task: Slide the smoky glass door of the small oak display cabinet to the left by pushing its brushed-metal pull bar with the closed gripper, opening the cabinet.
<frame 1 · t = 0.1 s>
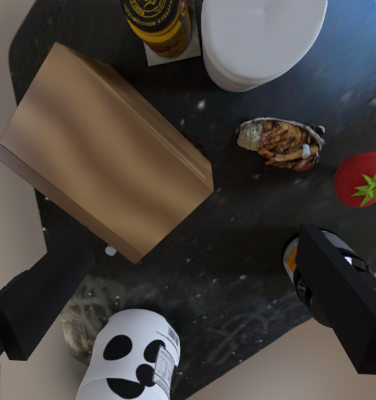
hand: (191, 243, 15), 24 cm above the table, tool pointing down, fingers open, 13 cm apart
supplement tub: (238, 52, 31), on the table
doce de leite tub: (143, 328, 52), on the table
supplement container: (309, 250, 42), on the table
strawberry: (339, 169, 36), on the table
glass door: (113, 219, 35), point 6 cm above the table, slide at 0.0 cm
condiment: (168, 24, 31), on the table
cabinet: (138, 146, 37), on the table
pastry: (277, 143, 35), on the table
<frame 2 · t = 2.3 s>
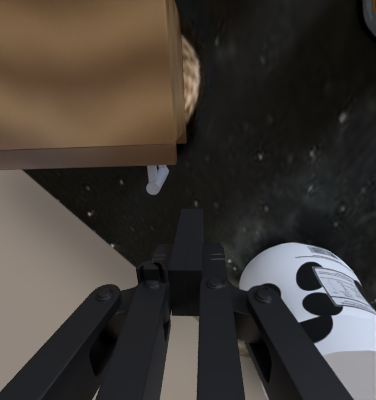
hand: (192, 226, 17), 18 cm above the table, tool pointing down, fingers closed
doce de leite tub: (286, 276, 40), on the table
glass door: (135, 162, 27), point 6 cm above the table, slide at 0.0 cm
cabinet: (106, 83, 30), on the table
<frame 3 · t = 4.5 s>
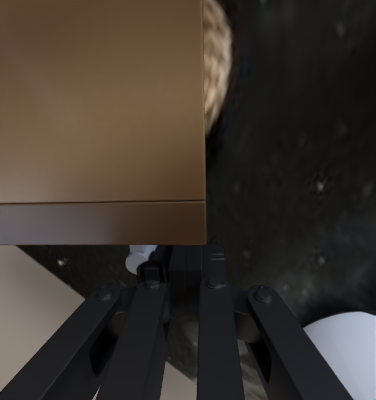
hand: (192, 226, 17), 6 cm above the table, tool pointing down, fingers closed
doce de leite tub: (340, 348, 28), on the table
glass door: (110, 206, 16), point 6 cm above the table, slide at 0.8 cm, touching gripper
cabinet: (77, 70, 18), on the table
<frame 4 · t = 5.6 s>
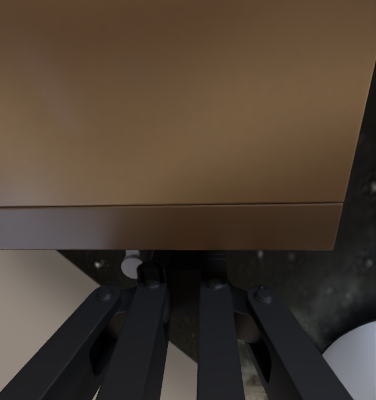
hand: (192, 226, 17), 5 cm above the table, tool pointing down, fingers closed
glass door: (106, 208, 15), point 6 cm above the table, slide at 5.3 cm, touching gripper
cabinet: (130, 66, 18), on the table
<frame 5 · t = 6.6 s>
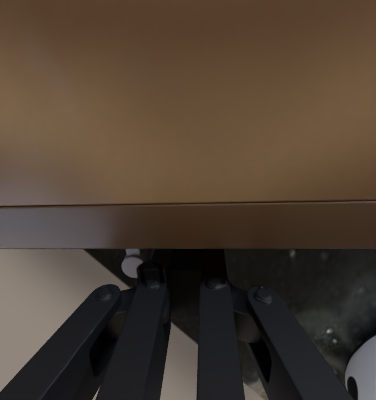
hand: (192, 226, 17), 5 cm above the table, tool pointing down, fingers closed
glass door: (107, 208, 15), point 6 cm above the table, slide at 8.4 cm, touching gripper
cabinet: (170, 64, 18), on the table
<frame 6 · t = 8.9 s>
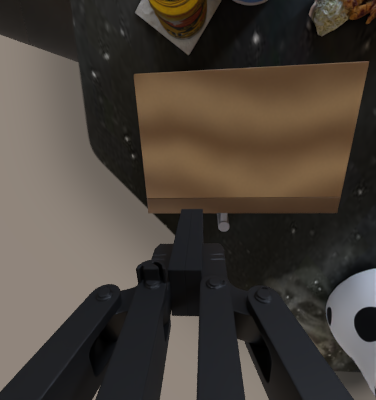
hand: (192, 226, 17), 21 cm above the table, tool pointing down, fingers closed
doce de leite tub: (367, 297, 44), on the table
glass door: (203, 201, 32), point 6 cm above the table, slide at 8.4 cm
condiment: (178, 7, 30), on the table
cabinet: (230, 128, 34), on the table
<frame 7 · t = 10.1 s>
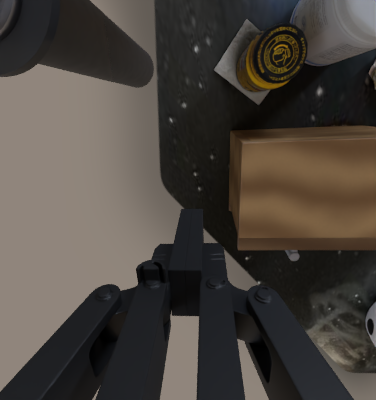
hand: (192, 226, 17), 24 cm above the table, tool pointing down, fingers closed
supplement tub: (321, 27, 32), on the table
glass door: (271, 232, 37), point 6 cm above the table, slide at 8.4 cm
condiment: (252, 65, 34), on the table
cabinet: (290, 165, 39), on the table
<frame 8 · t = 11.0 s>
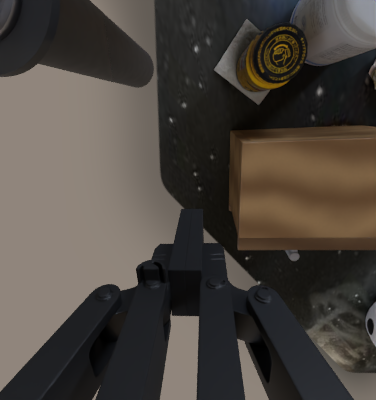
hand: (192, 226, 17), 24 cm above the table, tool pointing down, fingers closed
supplement tub: (321, 27, 32), on the table
glass door: (271, 232, 37), point 6 cm above the table, slide at 8.4 cm
condiment: (252, 65, 34), on the table
cabinet: (290, 165, 39), on the table
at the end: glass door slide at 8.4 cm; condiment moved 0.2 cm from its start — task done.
